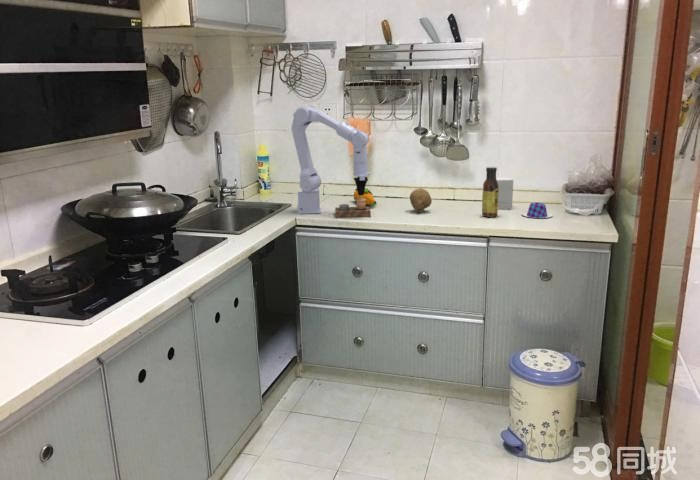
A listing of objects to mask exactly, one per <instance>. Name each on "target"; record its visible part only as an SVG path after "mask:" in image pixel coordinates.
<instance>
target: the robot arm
mask: <svg viewBox="0 0 700 480" xmlns="http://www.w3.org/2000/svg"><path fill="white" fill-rule="evenodd" d="M292 116H293V119H292V124H291V133H292V137H293V141H294V142H293V143H294V145H295V150H296V155H297V159H298V163H299V166H300V174H299V187H300V190H301V191H298V192H297V209H298V215H304V214H305V215H306V214H321V213H322V210H321V204H320V203H321V202H320V201H321V200H320V199H321V198H320V187H321V185H322V180H321V177H320V176H319V175H318V170H317V169H316V168H315V167H314V163H313V159H312V155H311V151H310V146H309V142H308V137H307V134H306V130H307V128H308V127H309V126H310V124H311V123H313V122H319V123H321V124H323V125H325V126H326V127H329V128H332V129H333V130H335V133H336V134H337V136H339V137H341V138H343V139H344V140H346V141H347V142H349V143H350V144H351V146H352V147H353V151H352V152H353V155H352V156H353V158H352V159H353V161H352V163H353V164H352V165H353V173H352V174H353V176H354V177H353V181H354V182H355V186H356V188H357V191H358V195H364V191H365V188H366V186H367V182H368V180H369V178H368V176H369V175H371V172H369V171H368V167H369V166H368V143H369V141H370V137H369V134H368V133H367V132H365V130H363V131H361V130H360V129H359V128H355V127H353V126H352V125H350V123H349V122H347V121H346V122H344V121H342V122H339V121H337V120H336V119H334V118H333V117H332V116H329V115H328V114H327V113H325V112H323V111H322V110H320V109H319V108H316V107H314V106H313V105H308V106H299V107H298V108H296V110H295V112H294V113H292Z"/></svg>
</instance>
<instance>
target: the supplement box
mask: <svg viewBox="0 0 700 480" xmlns="http://www.w3.org/2000/svg"><path fill="white" fill-rule="evenodd" d="M496 180H497V183H498V186H499V193H498V210H512V209H513V195H514V179H512V178H511V177H510V176H509V177H496Z"/></svg>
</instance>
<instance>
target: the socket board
mask: <svg viewBox="0 0 700 480" xmlns="http://www.w3.org/2000/svg"><path fill="white" fill-rule="evenodd" d="M334 208H335V209H334V212H335V217H336V219H347V218H349V219H350V218H351V219H352V218H353V219H354V218H356V219H357V218H371V217H372V216H371V215H372V213H371V212H372V211H371V208H370V207H369V206H365V209H364V210H358V209H357V206H349V211H340V207H334Z"/></svg>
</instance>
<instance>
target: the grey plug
mask: <svg viewBox="0 0 700 480" xmlns="http://www.w3.org/2000/svg"><path fill="white" fill-rule="evenodd" d="M339 207H340V211H349V207H350V205H349V204H347V203H346V204H345V203H344V204H339Z"/></svg>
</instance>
